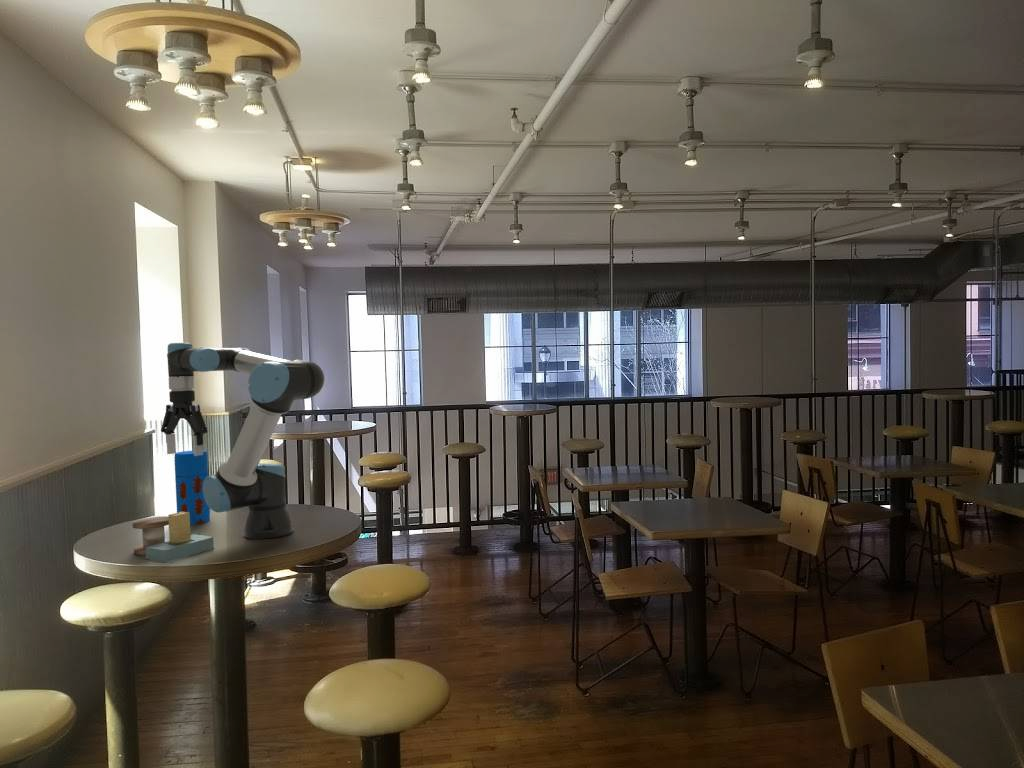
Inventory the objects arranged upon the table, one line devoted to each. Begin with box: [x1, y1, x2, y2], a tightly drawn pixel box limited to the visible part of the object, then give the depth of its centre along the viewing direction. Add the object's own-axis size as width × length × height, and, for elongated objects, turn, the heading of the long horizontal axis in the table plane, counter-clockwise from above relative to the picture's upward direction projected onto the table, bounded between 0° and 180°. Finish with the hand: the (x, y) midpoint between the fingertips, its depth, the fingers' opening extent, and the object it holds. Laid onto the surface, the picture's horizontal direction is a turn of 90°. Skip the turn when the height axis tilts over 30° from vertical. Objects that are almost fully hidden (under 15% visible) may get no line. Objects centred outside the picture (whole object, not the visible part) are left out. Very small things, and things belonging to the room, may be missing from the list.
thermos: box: [174, 449, 211, 526], centre depth 251 cm, size 11×11×25 cm
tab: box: [167, 512, 192, 546], centre depth 208 cm, size 4×4×12 cm
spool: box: [131, 515, 169, 557], centre depth 213 cm, size 11×11×9 cm
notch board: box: [145, 533, 215, 563], centre depth 209 cm, size 16×9×4 cm, turn 151°
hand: (184, 454), depth 230 cm, fingers open, 13 cm apart
